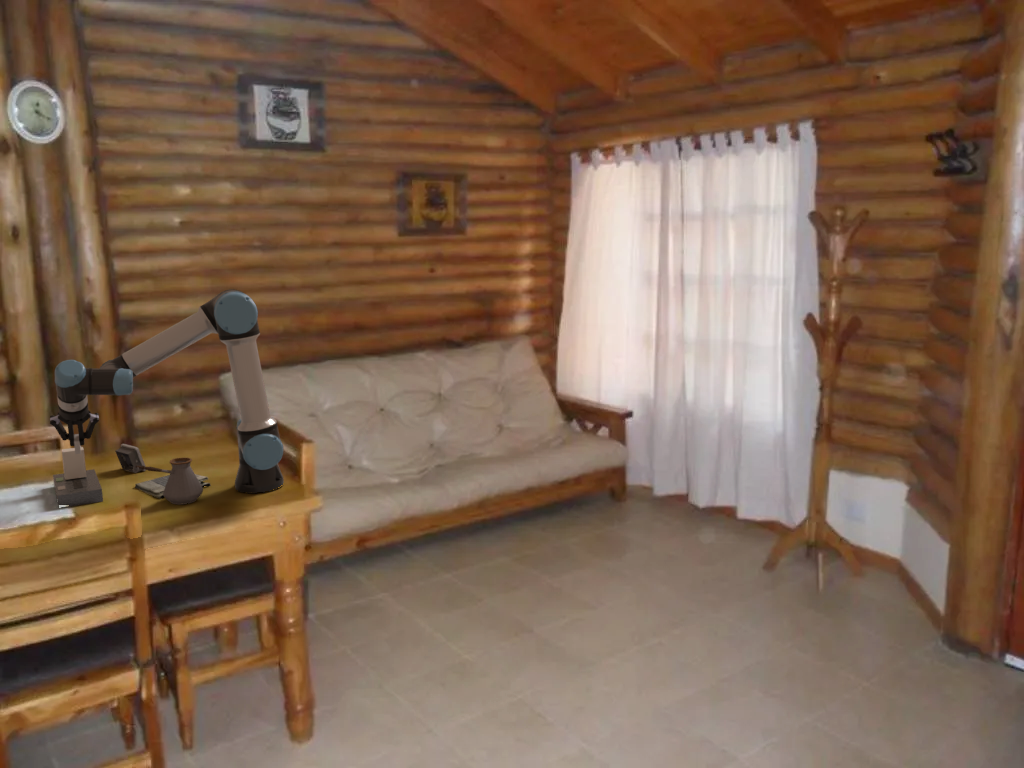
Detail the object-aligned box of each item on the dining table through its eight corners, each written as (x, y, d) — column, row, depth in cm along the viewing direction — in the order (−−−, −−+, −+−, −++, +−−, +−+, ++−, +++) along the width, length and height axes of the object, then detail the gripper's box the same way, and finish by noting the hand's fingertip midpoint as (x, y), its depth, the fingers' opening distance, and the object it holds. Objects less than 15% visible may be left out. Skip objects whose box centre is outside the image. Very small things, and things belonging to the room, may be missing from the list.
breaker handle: (86, 476, 260) (83, 449, 259) (65, 479, 257) (62, 452, 256) (85, 473, 264) (82, 446, 262) (64, 476, 261) (61, 449, 259)
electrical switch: (147, 471, 281) (142, 445, 279) (133, 476, 277) (128, 450, 275) (131, 466, 286) (126, 441, 284) (117, 471, 282) (112, 446, 280)
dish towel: (133, 489, 264) (132, 479, 263) (185, 476, 277) (185, 467, 276) (160, 501, 252) (159, 491, 251) (214, 487, 265) (213, 478, 265)
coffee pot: (187, 492, 259) (183, 446, 256) (211, 498, 253) (208, 451, 251) (126, 512, 241) (121, 463, 238) (151, 519, 235) (146, 469, 232)
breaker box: (103, 501, 250) (101, 488, 249) (58, 508, 244) (57, 494, 243) (95, 480, 270) (94, 468, 269) (54, 486, 264) (52, 474, 263)
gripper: (46, 414, 228) (53, 462, 245) (98, 411, 234) (102, 458, 250) (47, 393, 232) (53, 441, 249) (98, 391, 238) (101, 438, 254)
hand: (78, 450), depth 250 cm, fingers closed
